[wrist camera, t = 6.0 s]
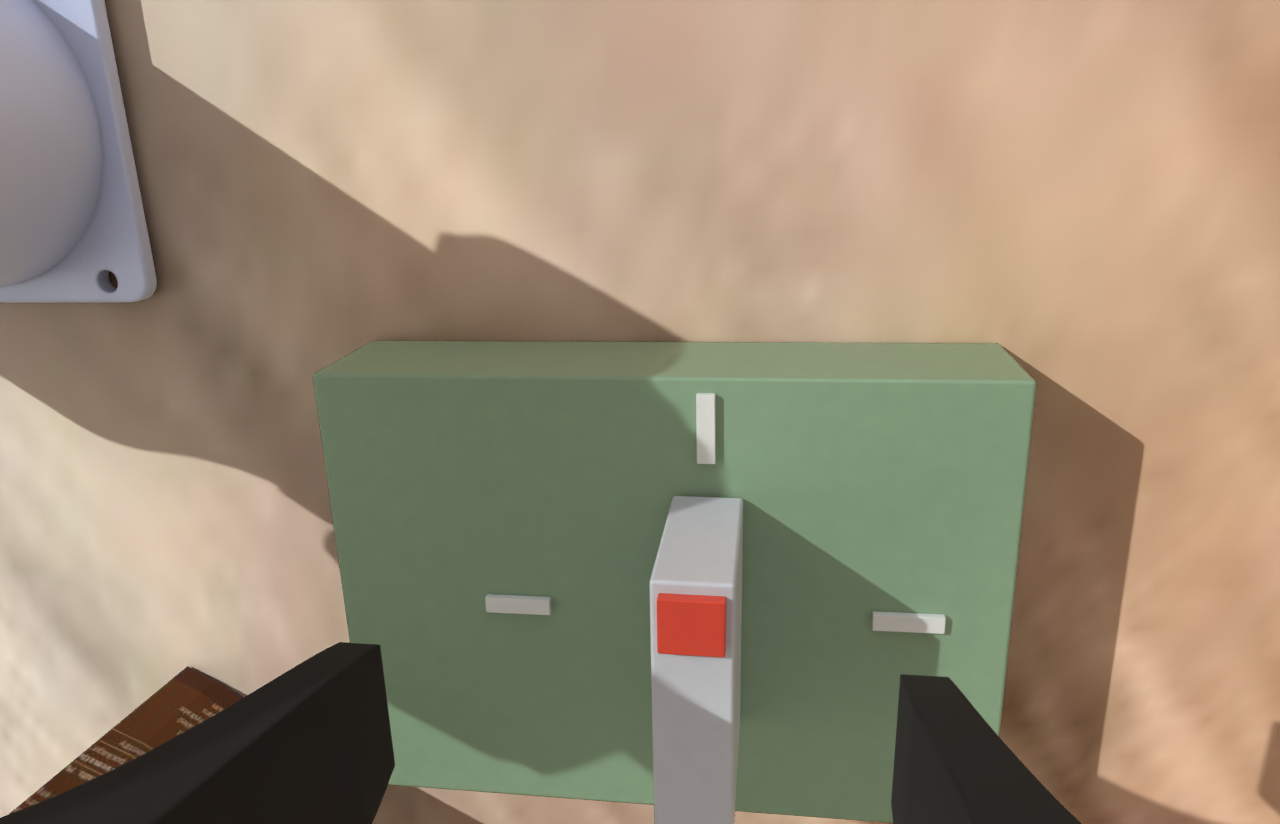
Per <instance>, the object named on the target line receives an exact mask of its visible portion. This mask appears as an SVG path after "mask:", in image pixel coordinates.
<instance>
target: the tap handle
mask: <svg viewBox="0 0 1280 824" xmlns="http://www.w3.org/2000/svg"><path fill="white" fill-rule="evenodd" d="M742 559H743V500H742V499H740V498H718V497H690V496H674V497H673V498H672V502H671V505H670V509H669V513H668V516H667V520H666V524H665V527H664V531H663V535H662V538H661V542H660V546H659V549H658V553H657V557H656V560H655V564H654V568H653V571H652V575H651V579H650V582H649V588H650V638H651V688H652V739H653V789H654V824H734V817H735V800H736V784H737V767H738V750H739V733H740V701H741V630H742Z"/></svg>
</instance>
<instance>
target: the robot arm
mask: <svg viewBox="0 0 1280 824" xmlns="http://www.w3.org/2000/svg"><path fill="white" fill-rule="evenodd" d="M110 271H111V272H112V273H113V274H114V275H115V276H116V278H117V280H118V288H117V289H116V288H115V287H114V286H112V285H111V283H110V281H109V272H110ZM156 287H157V278H156V273H155V268H154V262H153V257H152V252H151V246H150V241H149V236H148V230H147V225H146V220H145V214H144V209H143V204H142V198H141V193H140V188H139V182H138V177H137V172H136V166H135V161H134V156H133V150H132V145H131V140H130V134H129V129H128V124H127V118H126V113H125V108H124V102H123V97H122V92H121V86H120V81H119V76H118V70H117V65H116V60H115V54H114V49H113V44H112V38H111V33H110V28H109V22H108V17H107V12H106V6H105V1H104V0H0V303H72V302H137V301H141V300H144V299H148V298H149V297H150V296H152V295H153V294H154V292H155V289H156ZM394 767H395V760H394V752H393V744H392V736H391V728H390V720H389V712H388V704H387V696H386V688H385V680H384V672H383V663H382V655H381V647H380V645H378V644H360V643H343V642H340V643H338V644H336V645H334V646H331V647H329V648H327V649H326V650H324V651H322V652H320V653H318V654H316V655H315V656H313V657H311V658H309V659H308V660H306V661H304V662H303V663H301V664H299V665H297V666H296V667H294V668H292V669H291V670H289V671H287V672H286V673H284V674H282V675H281V676H279V677H278V678H276V679H274V680H273V681H271V682H269V683H268V684H266V685H264V686H263V687H261V688H259V689H258V690H256V691H254V692H253V693H251V694H249V695H248V696H246V697H244V698H243V699H241V700H239V701H238V702H236V703H234V704H233V705H231V706H229V707H228V708H226V709H224V710H223V711H221V712H219V713H217V714H216V715H214V716H212V717H210V718H209V719H207V720H205V721H203V722H201V723H200V724H198V725H196V726H194V727H192V728H191V729H189V730H187V731H185V732H183V733H181V734H180V735H178V736H176V737H174V738H172V739H171V740H169V741H167V742H165V743H163V744H162V745H160V746H158V747H156V748H154V749H153V750H151V751H149V752H147V753H145V754H143V755H141V756H139V757H137V758H135V759H133V760H132V761H130V762H128V763H126V764H124V765H121V766H119V767H117V768H115V769H113V770H111V771H109V772H107V773H105V774H103V775H101V776H99V777H96V778H94V779H92V780H90V781H88V782H85V783H83V784H81V785H79V786H77V787H75V788H72V789H70V790H68V791H66V792H64V793H61V794H59V795H57V796H54V797H52V798H50V799H47V800H45V801H42V802H40V803H37V804H35V805H32V806H30V807H27V808H24V809H22V810H19V811H17V812H14V813H12V814H9V815H7V816H4V817H1V818H0V824H372V822H373V820H374V817H375V815H376V813H377V810H378V808H379V806H380V803H381V801H382V798H383V796H384V793H385V790H386V788H387V785H388V783H389V780H390V777H391V775H392V772H393V770H394ZM891 807H892V816H893V824H1081V823H1080V822H1079V821H1078V820H1077V819H1076V818H1075V817H1074V816H1073V815H1072V814H1071V813H1070V812H1069V811H1068V810H1067V809H1066V808H1065V807H1063V806H1062V805H1061V804H1060V803H1059V802H1058V801H1057V800H1056V798H1055V797H1054V796H1053V795H1052V794H1051V793H1050V792H1049V791H1048V790H1047V789H1046V788H1045V787H1044V786H1043V785H1042V784H1041V783H1040V782H1039V781H1038V780H1037V778H1036V777H1035V776H1034V775H1033V774H1032V773H1031V772H1030V771H1029V770H1028V769H1027V768H1026V767H1025V765H1024V764H1023V763H1022V762H1021V761H1020V760H1019V759H1018V758H1017V757H1016V756H1015V755H1014V753H1013V752H1012V751H1011V750H1010V749H1009V748H1008V747H1007V745H1006V744H1005V743H1004V742H1003V741H1002V740H1001V739H1000V737H999V736H998V735H997V734H996V733H995V731H994V730H993V729H992V728H991V727H990V726H989V724H988V723H987V722H986V721H985V720H984V718H983V717H982V716H981V715H980V714H979V712H978V711H977V710H976V709H975V708H974V706H973V705H972V704H971V703H970V701H969V700H968V699H967V698H966V697H965V695H964V694H963V693H962V692H961V690H960V689H959V688H958V687H957V686H956V685H955V684H954V682H953V681H952V680H951V679H950V678H949V677H940V676H922V675H905V674H900V687H899V701H898V715H897V728H896V742H895V756H894V769H893V783H892V797H891Z"/></svg>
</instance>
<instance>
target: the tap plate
mask: <svg viewBox="0 0 1280 824" xmlns="http://www.w3.org/2000/svg"><path fill="white" fill-rule="evenodd" d="M313 383H314V390H315V397H316V404H317V411H318V418H319V425H320V432H321V439H322V447H323V454H324V461H325V468H326V475H327V482H328V489H329V496H330V503H331V510H332V518H333V525H334V532H335V539H336V546H337V553H338V560H339V567H340V574H341V581H342V589H343V596H344V603H345V610H346V617H347V624H348V631H349V638H350V643H360V644H378V645H380V647H381V655H382V663H383V672H384V680H385V688H386V696H387V704H388V712H389V720H390V728H391V736H392V744H393V752H394V760H395V767H394V770H393V772H392V775H391V777H390V780H389V783H388V785H400V786H413V787H426V788H439V789H452V790H465V791H479V792H492V793H505V794H518V795H531V796H544V797H557V798H571V799H584V800H597V801H610V802H623V803H636V804H649V805H654V789H653V739H652V688H651V638H650V588H649V582H650V579H651V575H652V571H653V568H654V564H655V560H656V557H657V553H658V549H659V546H660V542H661V538H662V535H663V531H664V527H665V524H666V520H667V516H668V513H669V509H670V505H671V502H672V498H673V497H674V496H690V497H718V498H740V499H742V500H743V559H742V630H741V701H740V733H739V750H738V767H737V784H736V800H735V811H741V812H754V813H768V814H781V815H794V816H807V817H820V818H833V819H846V820H860V821H873V822H886V823H893V816H892V807H891V797H892V783H893V769H894V756H895V742H896V728H897V715H898V701H899V687H900V674H905V675H922V676H940V677H949V678H950V679H951V680H952V681H953V682H954V684H955V685H956V686H957V687H958V688H959V689H960V690H961V692H962V693H963V694H964V695H965V697H966V698H967V699H968V700H969V701H970V703H971V704H972V705H973V706H974V708H975V709H976V710H977V711H978V712H979V714H980V715H981V716H982V717H983V718H984V720H985V721H986V722H987V723H988V724H989V726H990V727H991V728H992V729H993V730H994V731H995V733H996V734H997V735H998V736H1000V727H1001V717H1002V708H1003V698H1004V688H1005V679H1006V669H1007V660H1008V650H1009V641H1010V631H1011V622H1012V612H1013V603H1014V593H1015V584H1016V574H1017V565H1018V555H1019V546H1020V536H1021V527H1022V517H1023V507H1024V498H1025V488H1026V479H1027V469H1028V460H1029V450H1030V441H1031V431H1032V422H1033V412H1034V403H1035V393H1036V381H1035V380H1034V379H1033V378H1032V377H1031V376H1030V375H1029V374H1028V373H1027V372H1026V371H1025V370H1024V369H1023V368H1022V367H1021V366H1020V365H1019V364H1018V363H1017V362H1016V361H1015V360H1014V359H1013V358H1012V357H1011V356H1010V355H1009V353H1008V352H1007V351H1006V350H1005V349H1004V348H1003V347H1002V346H1001V345H1000V344H997V343H792V342H554V341H372V342H370V343H368V344H367V345H365V346H363V347H361V348H359V349H358V350H356V351H354V352H352V353H350V354H349V355H347V356H345V357H343V358H341V359H340V360H338V361H336V362H334V363H332V364H331V365H329V366H327V367H325V368H323V369H322V370H320V371H318V372H316V373H314V374H313Z"/></svg>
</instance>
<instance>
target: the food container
mask: <svg viewBox="0 0 1280 824" xmlns="http://www.w3.org/2000/svg"><path fill="white" fill-rule="evenodd" d="M241 699H243V698H242V697H241V696H240V695H238V694H237V693H235V692H234V691H232V690H230V689H229V688H227V687H226V686H224V685H223V684H221V683H220V682H218V681H216V680H215V679H213V678H211V677H209V676H206V675H204V674H202V673H200V672H198V671H196V670H194V669H192V668H190V667H188V666H187V667H186V668H185V669H184V670H182V671H181V672H180V673H179V674H178V675H176V676H175V677H174V678H173V679H172V680H170V681H169V682H168V683H167V684H166V685H164V686H163V687H162V688H161V689H160V690H158V691H157V692H156V693H155V694H153V695H152V696H151V697H150V698H149V699H147V700H146V701H145V702H144V703H143V704H141V705H140V706H139V707H138V708H137V709H135V710H134V711H133V712H132V713H131V714H129V715H128V716H127V717H126V718H124V719H123V720H122V721H121V722H120V723H118V724H117V725H116V726H115V727H114V728H112V729H111V730H110V731H109V732H108V733H106V734H105V735H104V736H103V737H102V738H100V739H99V740H98V741H97V742H96V743H94V744H93V745H92V746H91V747H89V748H88V749H87V750H86V751H85V752H83V753H82V754H81V755H80V756H79V757H77V758H76V759H75V760H74V761H73V762H71V763H70V764H69V765H68V766H67V767H65V768H64V769H63V770H62V771H60V772H59V773H58V774H57V775H56V776H54V777H53V778H52V779H51V780H50V781H48V782H47V783H46V784H45V785H44V786H42V787H41V788H40V789H39V790H38V791H36V792H35V793H34V794H33V795H31V796H30V797H29V798H28V799H27V800H25V801H24V802H23V803H22V804H21V805H19V806H18V807H17V808H16V809H15V810H13V811H12V812H11V813H10V814H12V813H14V812H17V811H19V810H22V809H24V808H27V807H30V806H32V805H35V804H37V803H40V802H42V801H45V800H47V799H50V798H52V797H54V796H57V795H59V794H61V793H64V792H66V791H68V790H70V789H72V788H75V787H77V786H79V785H81V784H83V783H85V782H88V781H90V780H92V779H94V778H96V777H99V776H101V775H103V774H105V773H107V772H109V771H111V770H113V769H115V768H117V767H119V766H121V765H124V764H126V763H128V762H130V761H132V760H133V759H135V758H137V757H139V756H141V755H143V754H145V753H147V752H149V751H151V750H153V749H154V748H156V747H158V746H160V745H162V744H163V743H165V742H167V741H169V740H171V739H172V738H174V737H176V736H178V735H180V734H181V733H183V732H185V731H187V730H189V729H191V728H192V727H194V726H196V725H198V724H200V723H201V722H203V721H205V720H207V719H209V718H210V717H212V716H214V715H216V714H217V713H219V712H221V711H223V710H224V709H226V708H228V707H229V706H231V705H233V704H234V703H236V702H238V701H239V700H241Z"/></svg>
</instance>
